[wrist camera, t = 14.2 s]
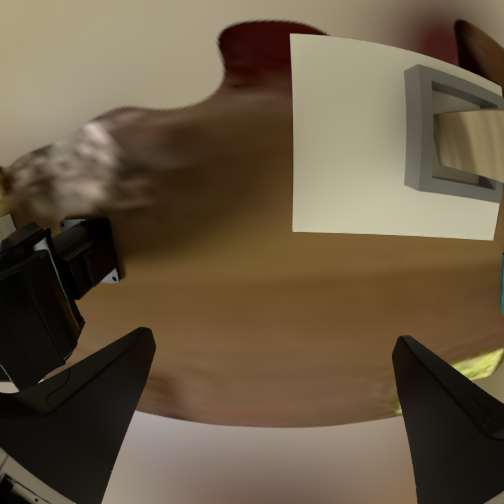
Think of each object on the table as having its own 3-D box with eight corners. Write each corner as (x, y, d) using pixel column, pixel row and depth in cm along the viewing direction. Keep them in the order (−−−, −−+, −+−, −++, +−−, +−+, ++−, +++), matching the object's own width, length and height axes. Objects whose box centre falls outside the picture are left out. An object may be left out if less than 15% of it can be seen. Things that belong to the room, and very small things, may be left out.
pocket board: (292, 229, 21) (293, 243, 18) (290, 36, 15) (291, 20, 12) (489, 238, 19) (507, 250, 16) (497, 87, 13) (517, 85, 10)
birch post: (439, 164, 17) (528, 192, 8) (427, 114, 15) (517, 111, 6) (473, 156, 16) (559, 180, 7) (463, 110, 15) (550, 110, 5)
